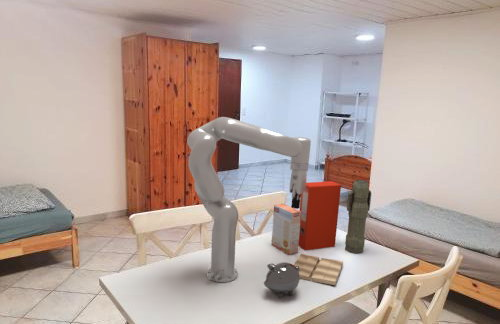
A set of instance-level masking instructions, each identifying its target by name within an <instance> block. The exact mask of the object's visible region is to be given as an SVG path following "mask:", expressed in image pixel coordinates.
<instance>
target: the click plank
mask: <svg viewBox="0 0 500 324" xmlns="http://www.w3.org/2000/svg"><path fill="white" fill-rule="evenodd" d="M319 260H320V262H319V264H318V266H317V268H316V270H315V272H314V274H313V276H312V279H311V282H314V283H319V284H320V283H321V284H326V285H332V286H337V285H336V284H337V282H338V279H339V276H340V274H341V271H342V268H343V266H344V261H343V260H339V259H338V260H337V259H333V258H326V257H325V258H324V257H321V259H319Z"/></svg>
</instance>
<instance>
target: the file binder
mask: <svg viewBox="0 0 500 324" xmlns="http://www.w3.org/2000/svg"><path fill="white" fill-rule="evenodd" d="M341 186H342V185H341V184H340V183H337V182H335V181H333V180H332V181H313V182H306V190H305V191H304V192H303V193H302V194H301V197H300V207H299V211H301V219H300V232H299V245H298V248H300V249H301V250H302V251H304V252H306V251H313V250H318V249H319V250H320V249H327V248H334V247H336V241H337V240H336V239H337V231H338V230H337V229H338V228H337V227H338V221H339V220H338V219H339V210H340V209H339V207H340V199H341V189H342V187H341Z"/></svg>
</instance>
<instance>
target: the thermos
mask: <svg viewBox="0 0 500 324" xmlns="http://www.w3.org/2000/svg"><path fill="white" fill-rule="evenodd" d="M371 199H372V191H371V190H370V187H369V182H368V181H366V180H364V179H357V180H354V181H353V184H352V187H351V190H349V192H348V193H347V205H346V210H347V212H348V213H347V214H348V223H347V233H346V236H345V242H344V243H345V245H344V246H345V247H344V249H345V251H346V252H348V253H350V254H354V255H355V254H356V255H357V254H358V255H360V254H363V253H364V248H365V242H366V237H365V230H366V222H367V218H368V212H369V211H370V208H371V201H372V200H371Z"/></svg>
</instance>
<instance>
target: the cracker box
mask: <svg viewBox="0 0 500 324" xmlns="http://www.w3.org/2000/svg"><path fill="white" fill-rule="evenodd" d="M272 215H273V218H272V232H271V246H274V247H275V248H277V249H279V250H280V251H282V252H283V253H285V254H287V255H289V256H290V255H294V254H297V253H299V246H298V245H299V232H300V219H301V211H300V209H295V208H292V207H291V206H289V205H287V204H284V203H278V204H273V214H272Z"/></svg>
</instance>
